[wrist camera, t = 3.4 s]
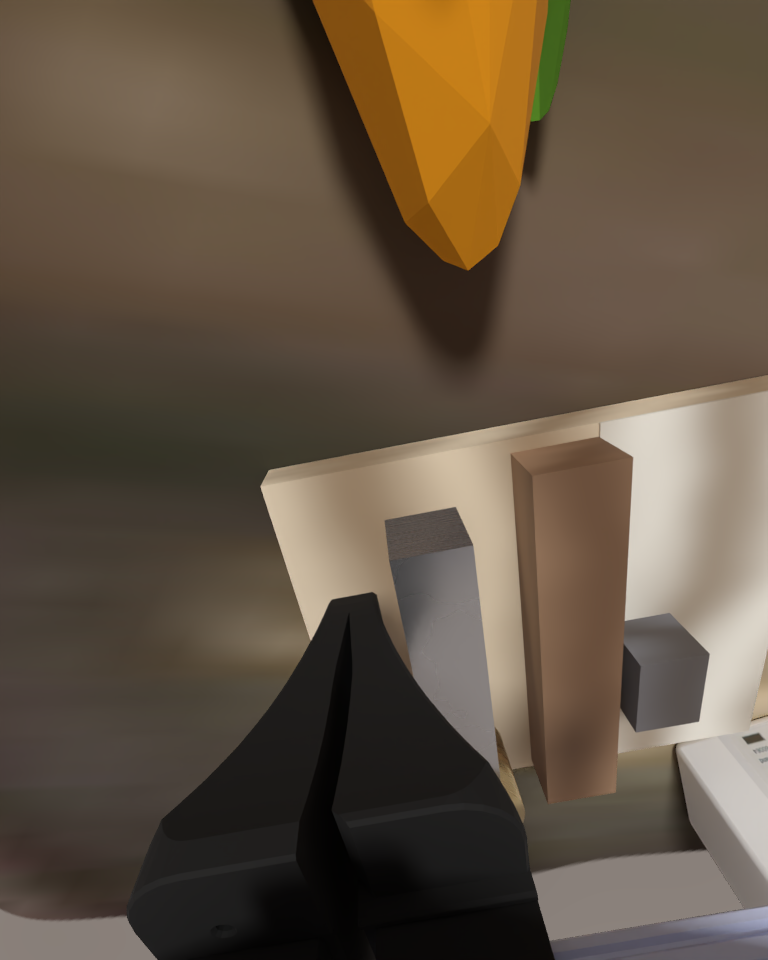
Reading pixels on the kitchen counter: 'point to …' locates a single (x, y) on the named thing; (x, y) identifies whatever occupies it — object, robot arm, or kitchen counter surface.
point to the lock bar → (447, 628)
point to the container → (731, 805)
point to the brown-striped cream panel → (573, 567)
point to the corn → (450, 104)
